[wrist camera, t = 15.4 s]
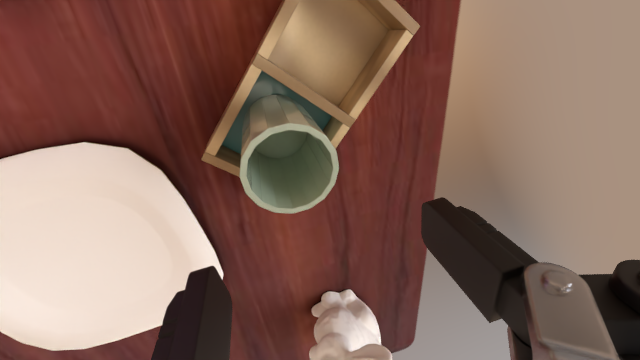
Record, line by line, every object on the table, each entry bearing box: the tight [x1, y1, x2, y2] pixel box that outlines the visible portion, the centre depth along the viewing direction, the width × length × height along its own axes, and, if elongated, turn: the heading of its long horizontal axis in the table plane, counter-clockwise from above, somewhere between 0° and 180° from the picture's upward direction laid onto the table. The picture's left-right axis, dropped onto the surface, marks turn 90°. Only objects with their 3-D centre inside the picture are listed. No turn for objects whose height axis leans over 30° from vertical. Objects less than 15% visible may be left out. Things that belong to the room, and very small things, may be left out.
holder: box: [201, 0, 420, 177], centre depth 22 cm, size 17×9×3 cm, turn 146°
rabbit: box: [309, 289, 392, 360], centre depth 33 cm, size 12×9×12 cm
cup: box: [239, 95, 339, 213], centre depth 20 cm, size 6×6×9 cm
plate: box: [0, 142, 223, 351], centre depth 25 cm, size 22×22×2 cm
